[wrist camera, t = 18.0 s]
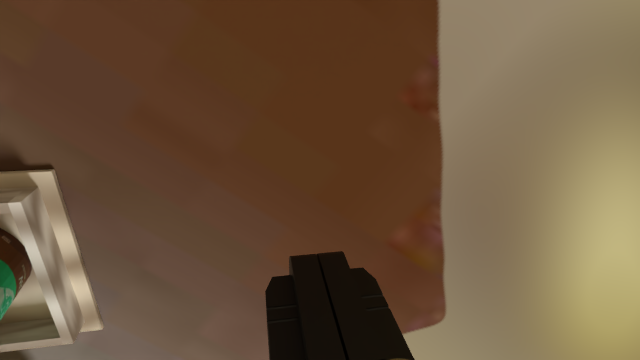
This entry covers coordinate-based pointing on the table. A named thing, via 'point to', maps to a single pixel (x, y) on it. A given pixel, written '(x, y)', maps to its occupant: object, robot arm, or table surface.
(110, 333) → the table surface
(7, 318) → the holder
